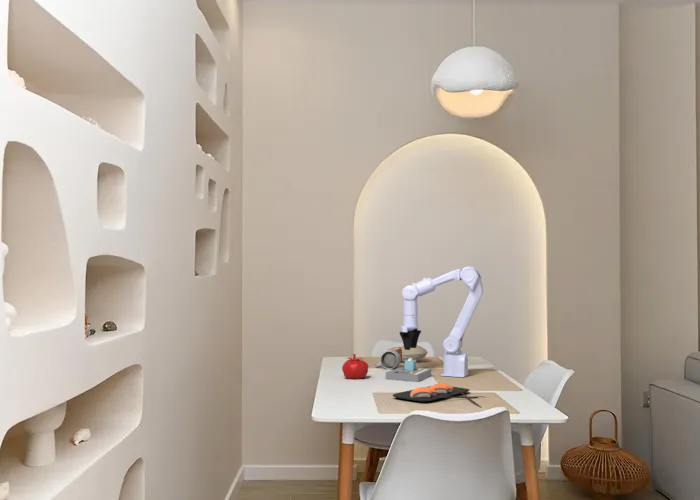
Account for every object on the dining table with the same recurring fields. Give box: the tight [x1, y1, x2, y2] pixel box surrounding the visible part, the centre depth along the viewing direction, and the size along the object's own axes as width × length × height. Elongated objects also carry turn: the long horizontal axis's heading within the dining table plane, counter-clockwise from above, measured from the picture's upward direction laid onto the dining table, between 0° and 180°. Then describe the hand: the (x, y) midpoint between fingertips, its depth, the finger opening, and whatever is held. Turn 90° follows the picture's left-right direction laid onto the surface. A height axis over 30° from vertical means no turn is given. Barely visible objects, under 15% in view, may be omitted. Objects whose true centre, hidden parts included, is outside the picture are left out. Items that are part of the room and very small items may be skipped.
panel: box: [385, 366, 432, 383], centre depth 285 cm, size 13×17×3 cm
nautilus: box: [382, 344, 429, 363], centre depth 332 cm, size 8×22×15 cm
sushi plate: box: [392, 383, 485, 409], centre depth 240 cm, size 29×30×4 cm
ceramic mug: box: [374, 350, 402, 370], centre depth 311 cm, size 11×8×8 cm
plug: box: [404, 358, 417, 371], centre depth 290 cm, size 4×4×7 cm
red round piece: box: [341, 353, 369, 380], centre depth 282 cm, size 10×10×9 cm
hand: (410, 348), depth 297 cm, fingers open, 7 cm apart
